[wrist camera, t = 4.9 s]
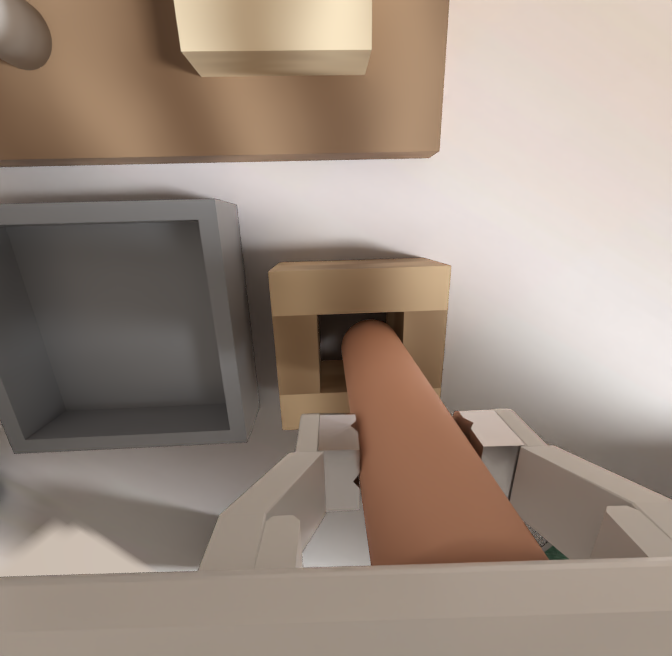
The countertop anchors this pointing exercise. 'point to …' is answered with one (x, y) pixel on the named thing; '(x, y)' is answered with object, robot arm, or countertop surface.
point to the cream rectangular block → (275, 36)
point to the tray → (124, 326)
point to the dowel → (421, 465)
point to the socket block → (345, 298)
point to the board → (205, 91)
